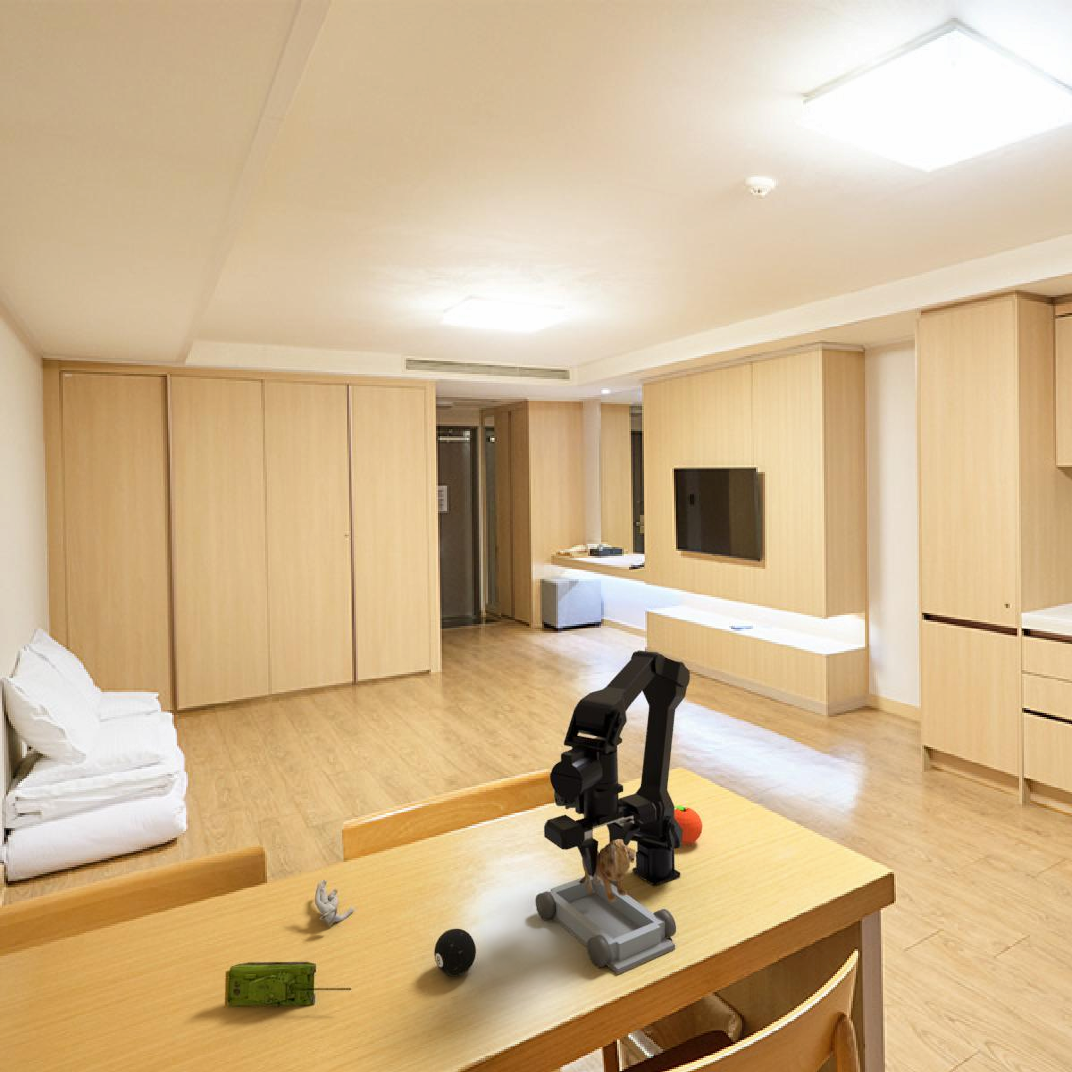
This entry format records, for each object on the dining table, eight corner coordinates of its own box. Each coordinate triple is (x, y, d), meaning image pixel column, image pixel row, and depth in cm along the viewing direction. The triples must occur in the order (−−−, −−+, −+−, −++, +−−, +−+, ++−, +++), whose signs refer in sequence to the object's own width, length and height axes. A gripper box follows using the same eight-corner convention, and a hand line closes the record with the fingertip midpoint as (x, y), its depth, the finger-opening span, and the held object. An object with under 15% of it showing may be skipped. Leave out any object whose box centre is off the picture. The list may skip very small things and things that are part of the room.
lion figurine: (650, 894, 117) (636, 835, 118) (625, 907, 114) (611, 847, 115) (591, 880, 129) (579, 827, 130) (567, 892, 125) (555, 837, 126)
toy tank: (238, 948, 110) (207, 978, 100) (366, 948, 109) (348, 977, 99) (236, 1001, 108) (204, 1036, 99) (365, 1000, 108) (346, 1035, 98)
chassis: (598, 884, 135) (598, 862, 135) (682, 945, 116) (682, 920, 116) (531, 909, 127) (530, 886, 127) (609, 978, 109) (608, 951, 108)
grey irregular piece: (350, 899, 134) (363, 910, 124) (332, 925, 132) (344, 938, 121) (317, 873, 133) (327, 882, 123) (298, 898, 131) (306, 909, 120)
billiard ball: (484, 971, 111) (482, 932, 111) (450, 990, 107) (449, 949, 107) (460, 953, 116) (459, 916, 115) (427, 971, 112) (426, 932, 111)
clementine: (656, 839, 152) (655, 805, 151) (680, 829, 156) (679, 796, 156) (686, 854, 145) (685, 818, 145) (710, 843, 150) (709, 808, 149)
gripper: (615, 751, 132) (617, 837, 133) (524, 774, 122) (527, 867, 123) (657, 770, 123) (659, 862, 124) (562, 797, 113) (565, 897, 114)
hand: (602, 871), depth 121 cm, fingers closed on lion figurine, 4 cm apart
